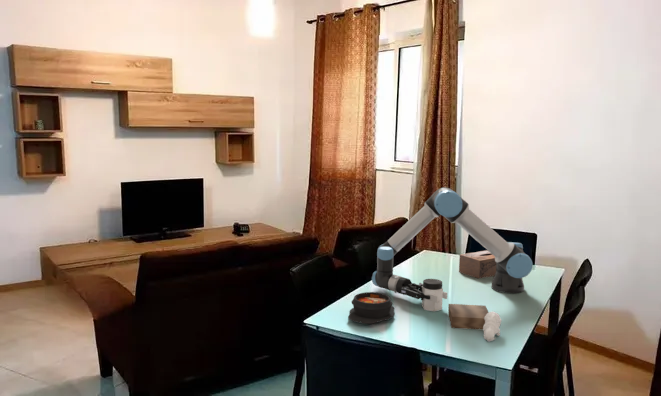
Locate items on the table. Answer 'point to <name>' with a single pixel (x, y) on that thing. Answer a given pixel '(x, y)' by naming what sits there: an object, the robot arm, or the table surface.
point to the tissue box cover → (478, 264)
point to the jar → (435, 289)
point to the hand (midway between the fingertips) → (441, 297)
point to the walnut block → (467, 316)
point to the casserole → (371, 308)
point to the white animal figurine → (491, 326)
